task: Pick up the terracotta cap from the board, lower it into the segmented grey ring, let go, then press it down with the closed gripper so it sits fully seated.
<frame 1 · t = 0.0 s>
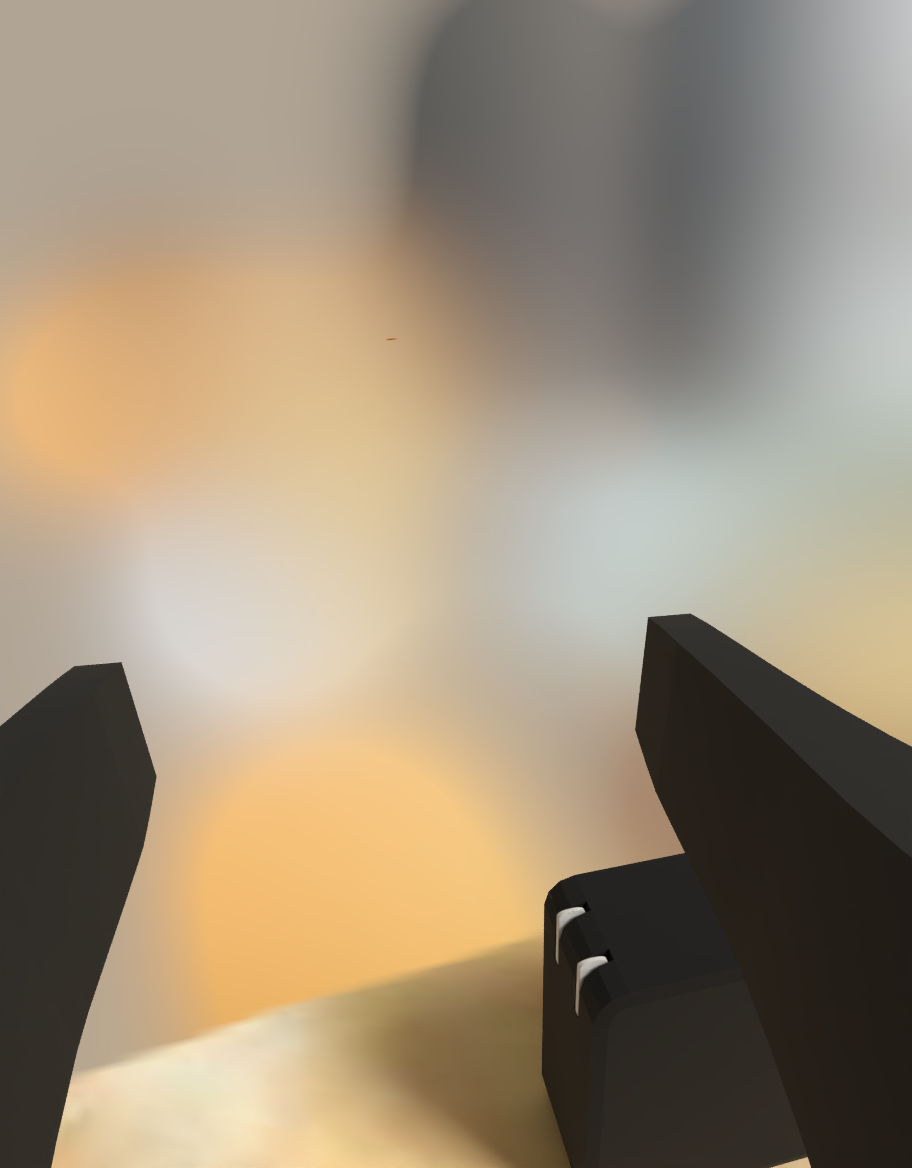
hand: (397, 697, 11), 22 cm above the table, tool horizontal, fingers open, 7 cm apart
electronic device: (699, 1117, 26), on the table
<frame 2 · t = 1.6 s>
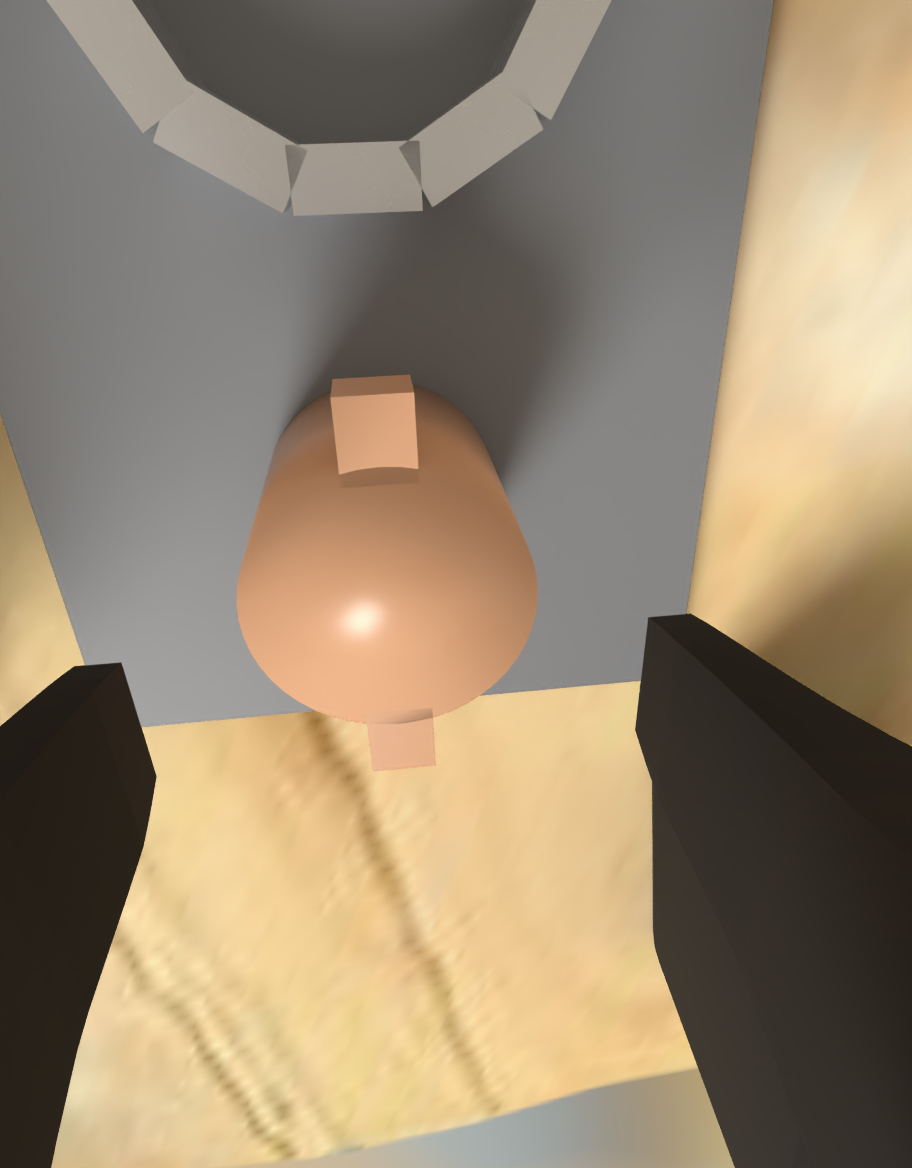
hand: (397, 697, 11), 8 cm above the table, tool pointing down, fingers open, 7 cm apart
cap: (382, 491, 17), point 1 cm above the table, touching board
electronic device: (707, 837, 26), on the table
board: (362, 243, 15), on the table
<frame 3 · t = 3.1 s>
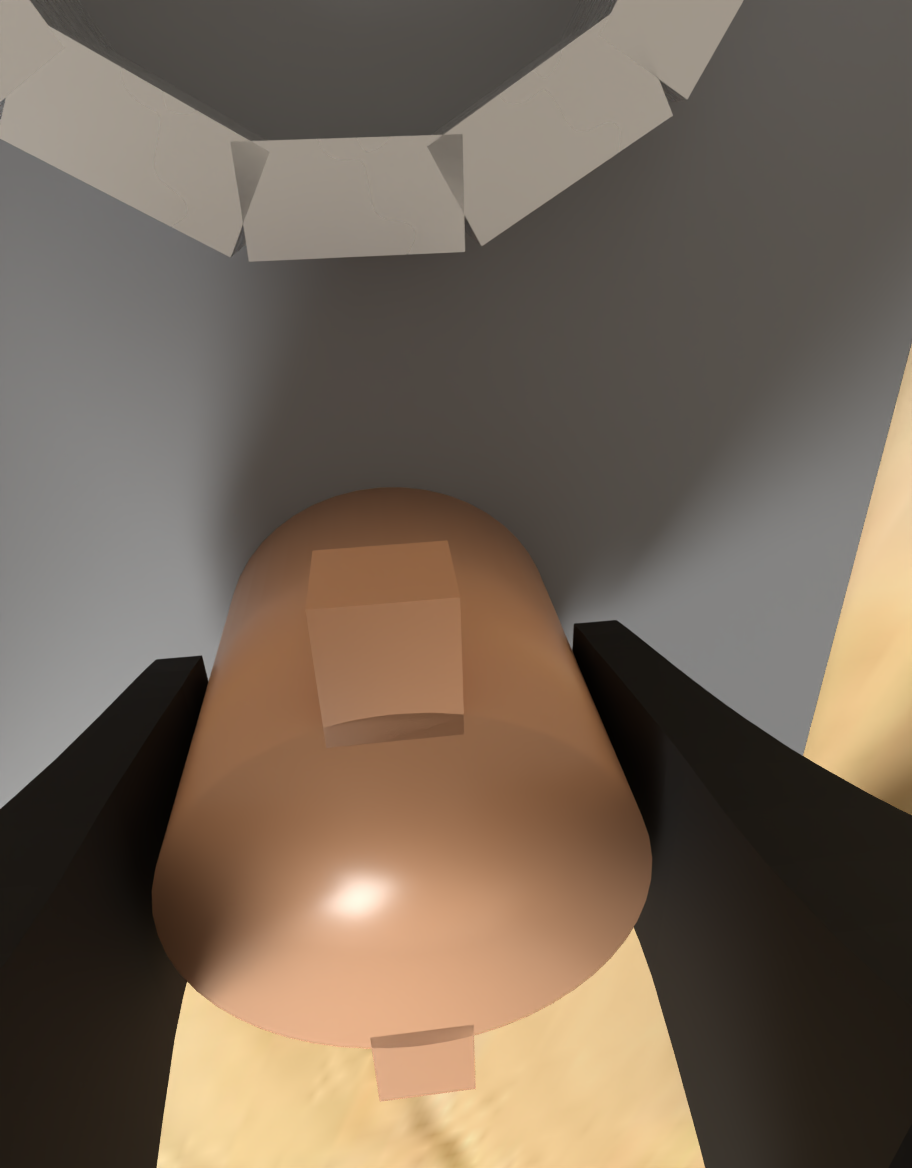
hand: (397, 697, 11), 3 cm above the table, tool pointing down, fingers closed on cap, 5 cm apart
cap: (392, 634, 12), point 1 cm above the table, touching board, gripper
board: (363, 289, 10), on the table
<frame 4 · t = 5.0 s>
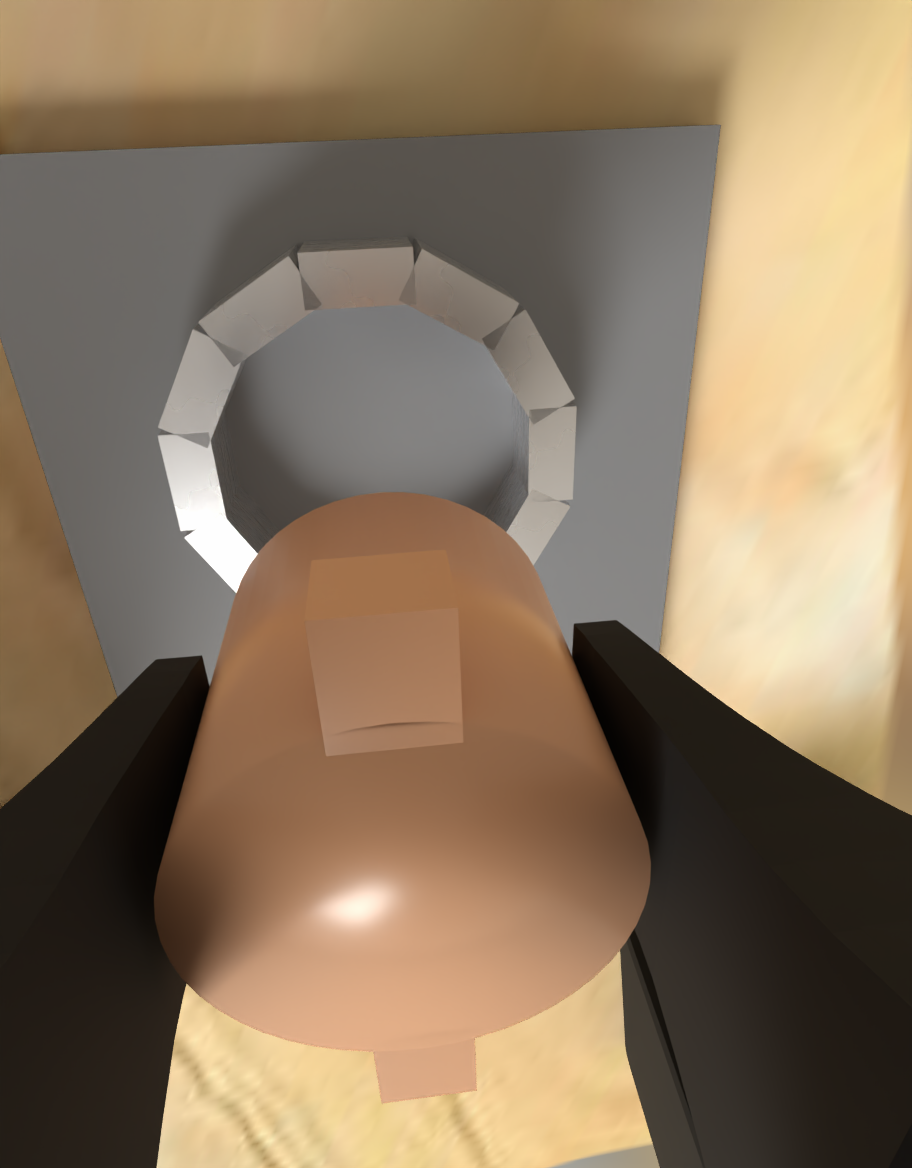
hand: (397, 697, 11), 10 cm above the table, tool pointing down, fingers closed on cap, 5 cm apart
cap: (392, 638, 12), point 8 cm above the table, touching gripper
electronic device: (667, 967, 32), on the table
board: (390, 600, 21), on the table
segmented grey ring: (374, 438, 18), resting on board
when the fingers open (4 cm above the table, at t = 7.1 s): cap stays where it is, resting on board.
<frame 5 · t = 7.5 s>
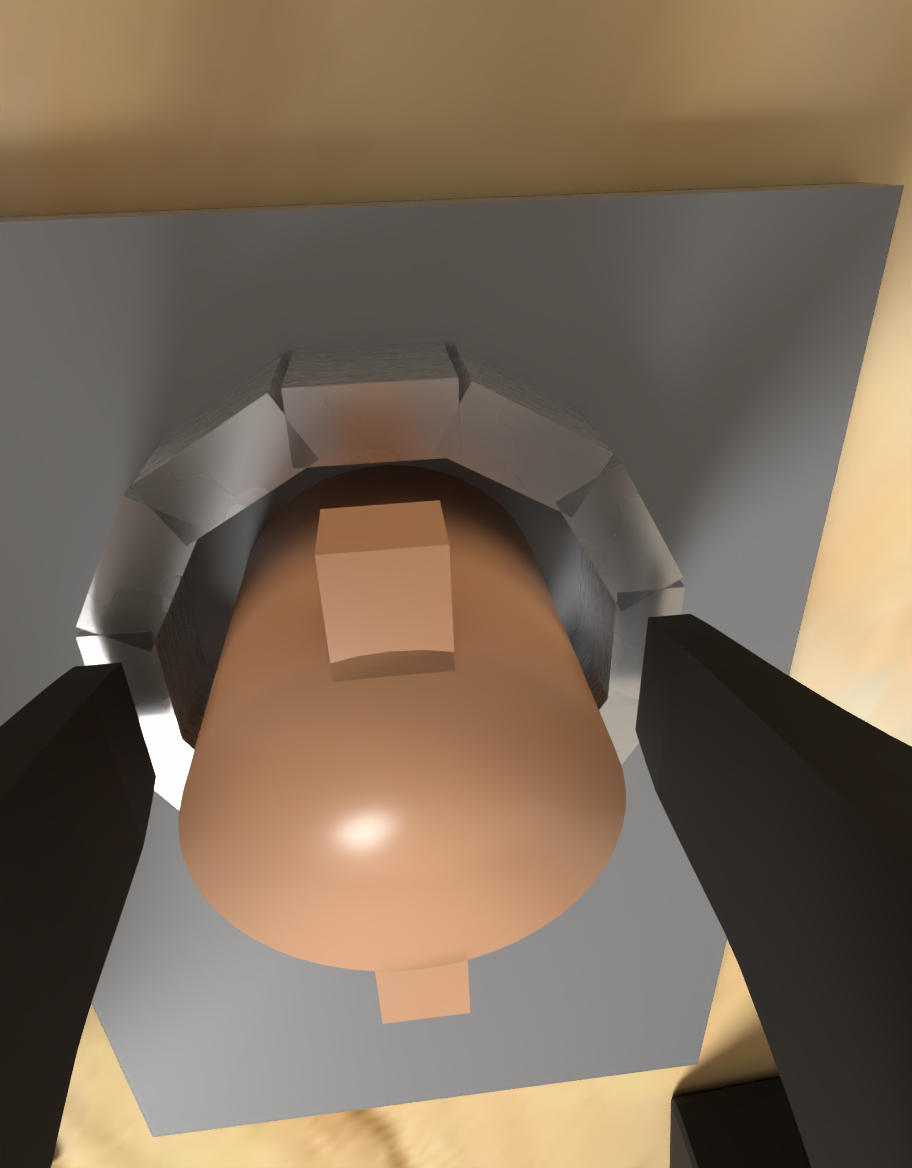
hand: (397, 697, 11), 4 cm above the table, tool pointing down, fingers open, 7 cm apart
cap: (393, 604, 13), point 1 cm above the table, touching board
electronic device: (723, 1143, 27), on the table
board: (406, 777, 16), on the table
segmented grey ring: (390, 602, 13), resting on board
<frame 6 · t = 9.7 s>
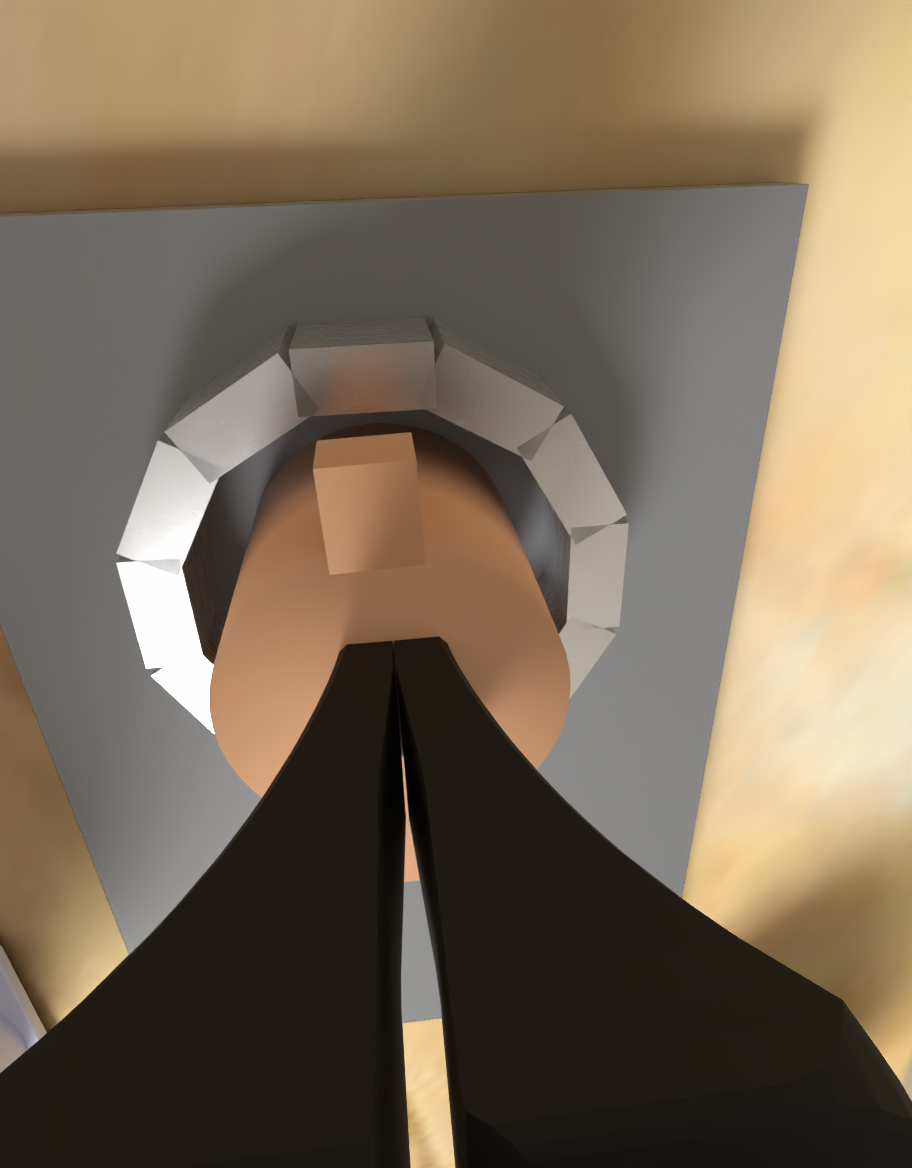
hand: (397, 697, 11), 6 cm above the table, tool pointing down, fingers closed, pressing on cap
cap: (383, 546, 15), point 1 cm above the table, touching board, gripper
board: (396, 712, 18), on the table
segmented grey ring: (381, 545, 15), resting on board
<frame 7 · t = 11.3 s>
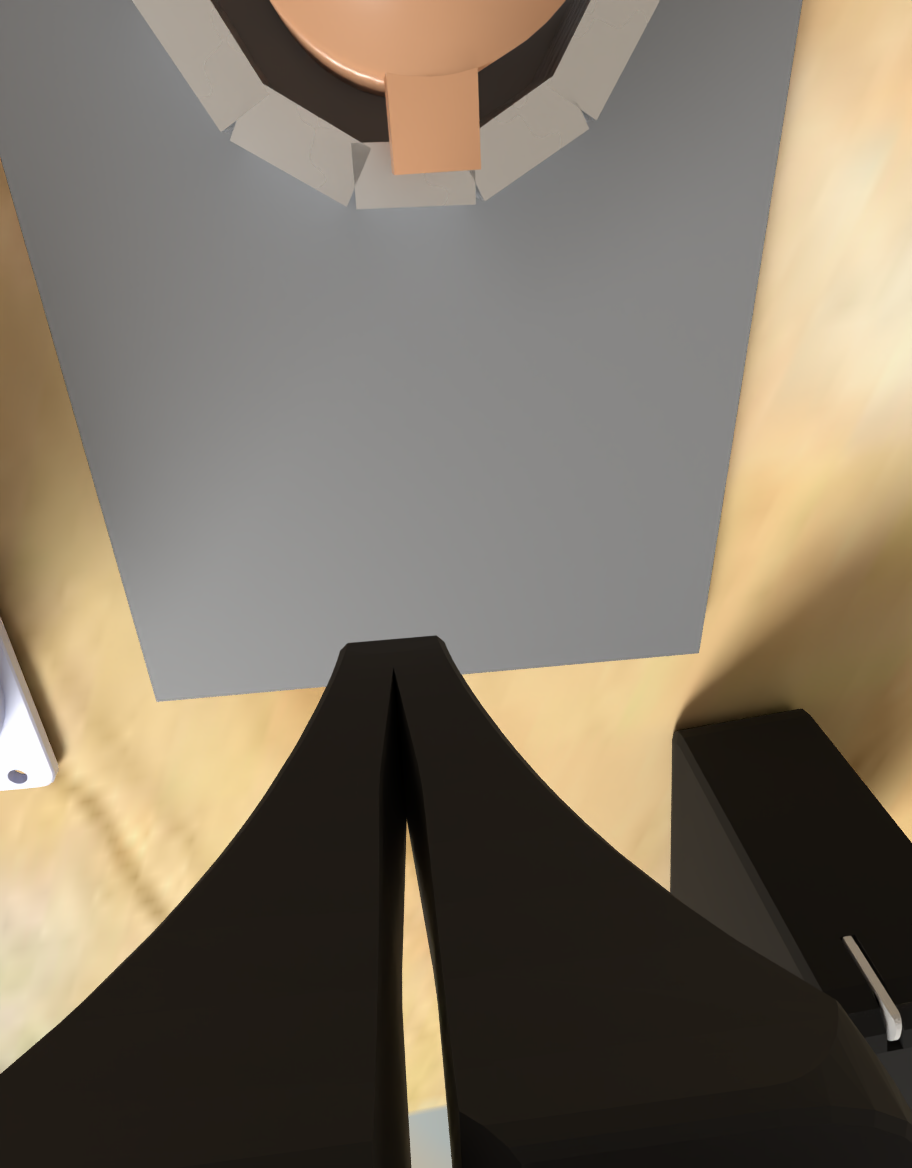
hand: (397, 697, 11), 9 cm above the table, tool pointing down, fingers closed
electronic device: (724, 812, 27), on the table
board: (409, 236, 16), on the table
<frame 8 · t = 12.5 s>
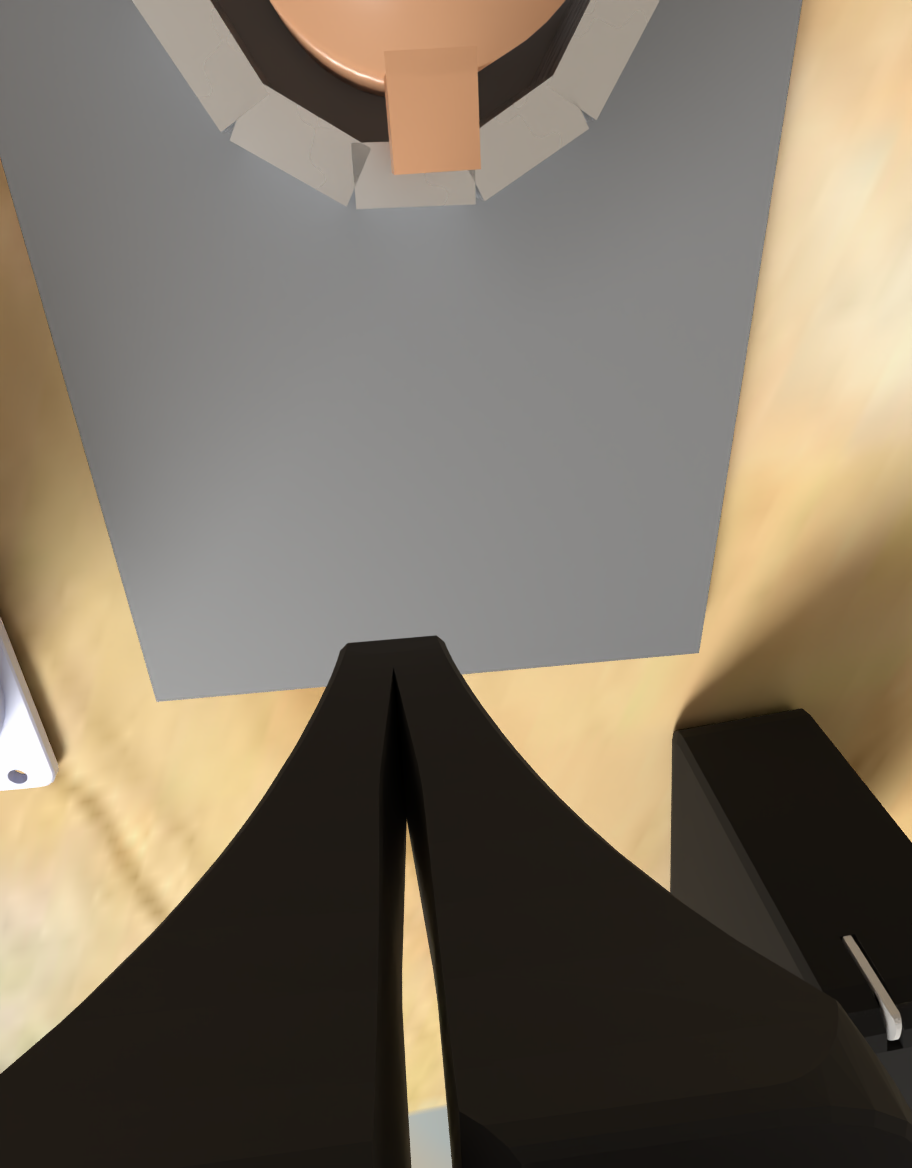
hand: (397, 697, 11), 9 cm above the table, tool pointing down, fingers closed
electronic device: (724, 812, 27), on the table
board: (409, 236, 16), on the table
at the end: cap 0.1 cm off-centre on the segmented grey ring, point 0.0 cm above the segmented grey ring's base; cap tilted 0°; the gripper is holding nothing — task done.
